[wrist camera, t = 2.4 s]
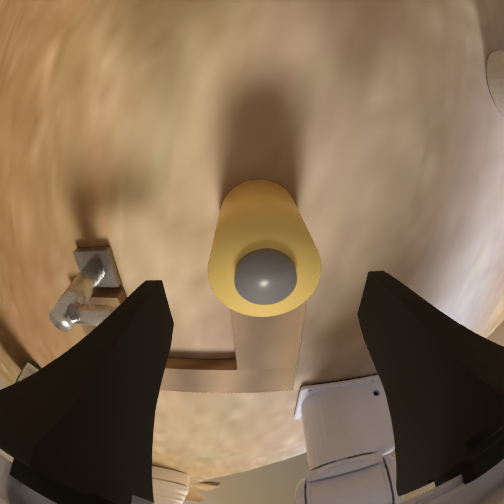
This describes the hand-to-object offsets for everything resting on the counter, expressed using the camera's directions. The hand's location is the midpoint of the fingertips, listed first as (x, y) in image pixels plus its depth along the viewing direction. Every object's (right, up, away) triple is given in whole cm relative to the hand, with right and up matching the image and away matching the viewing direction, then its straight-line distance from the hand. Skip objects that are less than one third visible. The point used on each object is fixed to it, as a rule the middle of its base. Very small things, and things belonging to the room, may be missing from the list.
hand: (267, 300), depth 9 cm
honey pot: (-23, -56, +41) cm, 73 cm away
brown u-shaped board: (-6, -6, +12) cm, 15 cm away
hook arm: (-10, +1, +8) cm, 13 cm away
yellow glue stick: (0, +4, +7) cm, 8 cm away
